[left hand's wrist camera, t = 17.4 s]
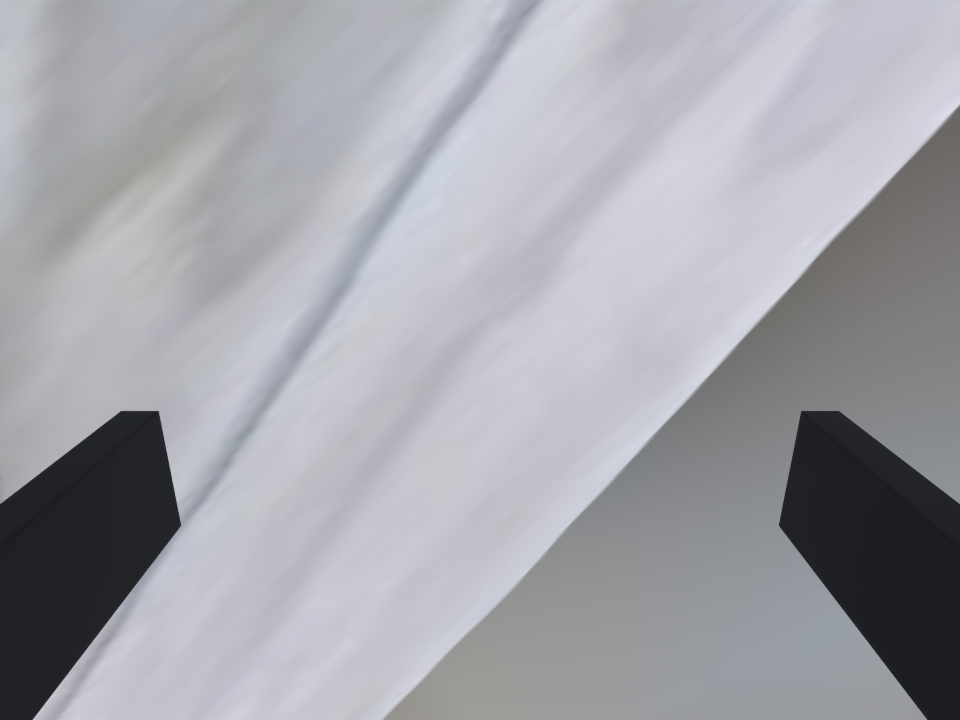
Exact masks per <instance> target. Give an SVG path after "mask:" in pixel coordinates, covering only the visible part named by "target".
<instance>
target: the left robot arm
mask: <svg viewBox="0 0 960 720" xmlns="http://www.w3.org/2000/svg"><path fill="white" fill-rule="evenodd" d="M180 526H181V522H180V517H179V512H178V507H177V502H176V497H175V492H174V487H173V482H172V477H171V472H170V467H169V461H168V456H167V451H166V446H165V441H164V436H163V431H162V426H161V421H160V416H159V411H121V412H119V413H118V414H117V415H115V416H114V417H113V418H112V419H110V420H109V421H108V422H106V423H105V424H104V425H103V426H101V427H100V428H99V429H97V430H96V431H95V432H93V433H92V434H91V435H90V436H88V437H87V438H86V439H84V440H83V441H82V442H80V443H79V444H78V445H77V446H75V447H74V448H73V449H71V450H70V451H69V452H67V453H66V454H65V455H64V456H62V457H61V458H60V459H58V460H57V461H56V462H54V463H53V464H52V465H51V466H49V467H48V468H47V469H45V470H44V471H43V472H41V473H40V474H39V475H38V476H36V477H35V478H34V479H32V480H31V481H30V482H28V483H27V484H26V485H25V486H23V487H22V488H21V489H19V490H18V491H17V492H15V493H14V494H13V495H12V496H10V497H9V498H8V499H6V500H5V501H4V502H3V503H1V504H0V720H33V718H34V717H35V716H36V715H37V713H38V712H39V711H40V709H41V708H42V707H43V705H44V704H45V703H46V701H47V700H48V699H49V698H50V696H51V695H52V694H53V692H54V691H55V690H56V688H57V687H58V686H59V684H60V683H61V682H62V681H63V679H64V678H65V677H66V675H67V674H68V673H69V671H70V670H71V669H72V668H73V666H74V665H75V664H76V662H77V661H78V660H79V658H80V657H81V656H82V654H83V653H84V652H85V651H86V649H87V648H88V647H89V645H90V644H91V643H92V641H93V640H94V639H95V637H96V636H97V635H98V634H99V632H100V631H101V630H102V628H103V627H104V626H105V624H106V623H107V622H108V620H109V619H110V618H111V617H112V615H113V614H114V613H115V611H116V610H117V609H118V607H119V606H120V605H121V603H122V602H123V601H124V600H125V598H126V597H127V596H128V594H129V593H130V592H131V590H132V589H133V588H134V586H135V585H136V584H137V583H138V581H139V580H140V579H141V577H142V576H143V575H144V573H145V572H146V571H147V569H148V568H149V567H150V566H151V564H152V563H153V562H154V560H155V559H156V558H157V556H158V555H159V554H160V552H161V551H162V550H163V549H164V547H165V546H166V545H167V543H168V542H169V541H170V539H171V538H172V537H173V535H174V534H175V533H176V532H177V530H178V529H179V528H180ZM779 526H780V528H781V529H782V530H783V532H784V533H785V534H786V535H787V537H788V538H789V539H790V541H791V542H792V543H793V545H794V546H795V547H796V549H797V550H798V551H799V552H800V554H801V555H802V556H803V558H804V559H805V560H806V562H807V563H808V564H809V566H810V567H811V568H812V569H813V571H814V572H815V573H816V575H817V576H818V577H819V579H820V580H821V581H822V583H823V584H824V585H825V586H826V588H827V589H828V590H829V592H830V593H831V594H832V596H833V597H834V598H835V600H836V601H837V602H838V603H839V605H840V606H841V607H842V609H843V610H844V611H845V613H846V614H847V615H848V617H849V618H850V619H851V620H852V622H853V623H854V624H855V626H856V627H857V628H858V630H859V631H860V632H861V634H862V635H863V636H864V637H865V639H866V640H867V641H868V643H869V644H870V645H871V647H872V648H873V649H874V650H875V652H876V653H877V654H878V656H879V657H880V658H881V660H882V661H883V662H884V664H885V665H886V666H887V668H888V669H889V670H890V671H891V673H892V674H893V675H894V677H895V678H896V679H897V681H898V682H899V683H900V684H901V686H902V687H903V688H904V690H905V691H906V692H907V694H908V695H909V696H910V698H911V699H912V700H913V701H914V703H915V704H916V705H917V707H918V708H919V709H920V711H921V712H922V713H923V715H924V716H925V717H926V718H927V720H960V504H959V503H957V502H956V501H955V500H954V499H952V498H951V497H950V496H948V495H947V494H946V493H944V492H943V491H942V490H941V489H939V488H938V487H937V486H935V485H934V484H933V483H931V482H930V481H929V480H928V479H926V478H925V477H924V476H922V475H921V474H920V473H919V472H917V471H916V470H915V469H913V468H912V467H911V466H909V465H908V464H907V463H906V462H904V461H903V460H902V459H900V458H899V457H898V456H896V455H895V454H894V453H893V452H891V451H890V450H889V449H887V448H886V447H885V446H883V445H882V444H881V443H880V442H878V441H877V440H876V439H874V438H873V437H872V436H870V435H869V434H868V433H867V432H865V431H864V430H863V429H861V428H860V427H859V426H857V425H856V424H855V423H854V422H852V421H851V420H850V419H848V418H847V417H846V416H844V415H843V414H842V413H841V412H839V411H801V416H800V421H799V426H798V431H797V436H796V441H795V446H794V451H793V457H792V461H791V467H790V472H789V477H788V482H787V487H786V492H785V497H784V502H783V507H782V512H781V518H780V523H779Z"/></svg>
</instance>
